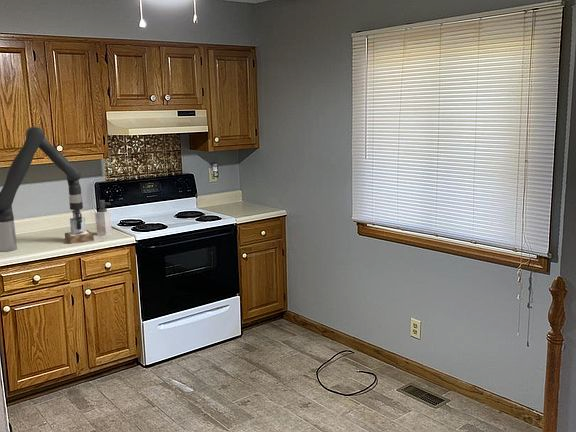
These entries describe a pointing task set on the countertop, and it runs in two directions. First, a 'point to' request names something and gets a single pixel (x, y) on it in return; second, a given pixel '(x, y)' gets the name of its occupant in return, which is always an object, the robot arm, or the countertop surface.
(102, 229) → the soap dispenser
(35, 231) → the countertop surface
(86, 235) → the walnut plinth
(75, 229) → the medicine box
